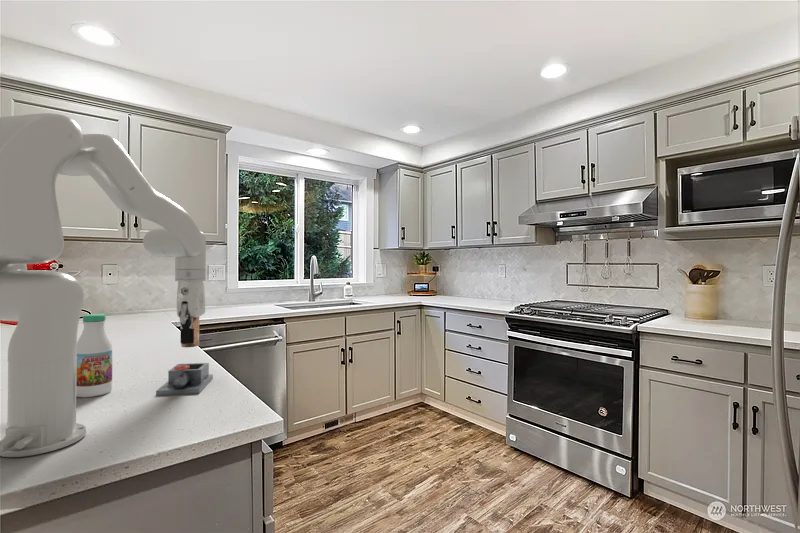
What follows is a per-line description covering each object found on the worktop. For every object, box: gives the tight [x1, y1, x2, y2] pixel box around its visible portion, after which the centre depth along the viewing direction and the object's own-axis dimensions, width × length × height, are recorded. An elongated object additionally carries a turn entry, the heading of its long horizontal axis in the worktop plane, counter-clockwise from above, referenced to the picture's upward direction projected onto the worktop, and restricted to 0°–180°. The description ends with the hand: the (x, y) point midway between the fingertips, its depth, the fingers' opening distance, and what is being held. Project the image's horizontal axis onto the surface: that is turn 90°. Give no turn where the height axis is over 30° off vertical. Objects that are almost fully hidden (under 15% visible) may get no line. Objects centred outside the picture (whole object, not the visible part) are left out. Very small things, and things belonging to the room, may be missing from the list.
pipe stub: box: [180, 316, 200, 348], centre depth 112 cm, size 4×4×8 cm
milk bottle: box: [76, 313, 113, 398], centre depth 103 cm, size 8×8×20 cm
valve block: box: [155, 362, 214, 396], centre depth 110 cm, size 14×10×6 cm
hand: (190, 340), depth 112 cm, fingers closed on pipe stub, 4 cm apart
